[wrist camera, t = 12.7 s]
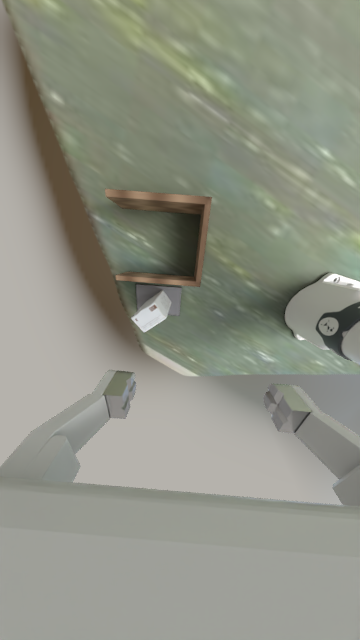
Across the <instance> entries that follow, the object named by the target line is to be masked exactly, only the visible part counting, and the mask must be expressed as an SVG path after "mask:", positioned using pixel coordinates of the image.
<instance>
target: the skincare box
mask: <svg viewBox="0 0 360 640" xmlns="http://www.w3.org/2000/svg"><path fill="white" fill-rule="evenodd" d="M170 306H171V301H170V299H169V298H168V296H167V295H166V294H165V292H164V291H163V290H162V291H160V292H159V293H157V294H156V295H154V296H153V297H152V298H150V299H149V300H147V301H146V302H145V303H144V304H143V305H142V306H141V307H140V309H139V310H138V311H137V312H136V313H135V314H134V315H133V316H132V317H131V319H132V320H133V321H134V322H135V323H136V324H137V326H138V327H139V328H140V329H141V330H142V331H143V332H144V333H145V332H146V331H148V330H149V329H151V328H152V327H154V326H155V325H157V324H158V323H160V322H161V321H163V320H165V319H166V318H167V315H168V312H169V309H170Z"/></svg>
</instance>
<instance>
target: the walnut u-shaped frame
mask: <svg viewBox="0 0 360 640" xmlns="http://www.w3.org/2000/svg"><path fill="white" fill-rule="evenodd" d="M105 193H106V197H107V198H109V199H110V200H112V201H113V202H114V203H116V204H117V205H118V206H120V207H121V208H123V209H135V210H148V211H161V212H174V213H187V214H200V215H201V219H200V228H199V237H198V246H197V255H196V264H195V273H194V277H191V276H178V275H165V274H153V273H140V272H125V273H122V274H118V275H116V280H121V281H133V282H146V283H158V284H171V285H184V286H196V287H200V283H201V276H202V268H203V260H204V253H205V245H206V238H207V230H208V222H209V215H210V207H211V200H212V197H204V196H191V195H178V194H165V193H152V192H139V191H126V190H113V189H105Z"/></svg>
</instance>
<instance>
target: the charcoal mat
mask: <svg viewBox="0 0 360 640" xmlns="http://www.w3.org/2000/svg"><path fill="white" fill-rule="evenodd" d="M162 290H163V291H164V292H165V294H166V295H167V296H168V298H169V299H170V301H171V306H170V309H169V312H168V315H174V316H179V315H180V302H181V287H168V286H155V285H143V284H136V294H137V310H139V309H140V307H141V306H142V305H143V304H144V303H145V302H146V301H147V300H149V299H150V298H152V297H153V296H154V295H156V294H157V293H159V292H160V291H162Z"/></svg>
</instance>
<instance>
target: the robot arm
mask: <svg viewBox="0 0 360 640" xmlns="http://www.w3.org/2000/svg"><path fill="white" fill-rule="evenodd" d="M333 280H334V281H333ZM285 321H286V324H287V325H288V327H289V328H290V329H292V331H293V333H294V336H295V338H297V339H298V340H307V341H309V342H310V343H312V344H314V345H315V346H317V347H319V348H321V349H330V350H332V351H333V352H334V353H336V354H337V355H339V356H341V357H343V358H345V359H347V360H351V361H354V362H355V363H357V364H358V365H360V282H359V281H356V280H353V279H350V278H347V277H344V276H340V275H337V274H334V273H328V274H326V275H325V276H323V277H322V278H321V279H320V280H319V281H317V282H316V283H314V284H312V285H310V286H308V287H306V288H304V289H302V290H301V291H299V292H298V293H297V294H296V295H295V296H294V297H293V298H292V299H291V301H290V302H289V304H288V306H287V308H286V311H285ZM134 379H135V373H133V372H125V371H115V370H108V371H107V372H106V374H105V375H104V376H103V378H102V380H101V381H100V383H99V384H98V385H97V387H96V388H95V390H94V391H93V393H92V394H88V395H87V396H85V397H84V398H82V399H81V400H79V401H77V402H76V403H74V404H73V405H71V406H70V407H68V408H67V409H65V410H64V411H62V412H61V413H59V414H58V415H56V416H54V417H53V418H51V419H50V420H48V421H47V422H45V423H44V424H42V425H41V426H39V427H38V428H36V429H35V430H33V431H31V433H30V434H29V435H28V436H27V437H26V438H25V439H24V440H23V442H22V443H21V444H20V445H19V446H18V447H17V449H16V450H15V451H14V452H13V453H12V454H11V455H10V456H9V458H8V459H7V460H6V461H5V462H4V463H3V465H2V466H1V467H0V640H360V436H359V435H357V434H356V433H354V432H353V431H351V430H350V429H348V428H347V427H345V426H344V425H342V424H341V423H339V422H338V421H336V420H335V419H333V418H332V417H330V416H329V415H327V414H324V413H323V412H322V411H321V410H320V409H319V408H318V407H317V405H316V404H315V403H314V402H313V401H312V400H311V399H310V397H309V396H308V395H307V394H306V393H305V392H304V391H303V389H302V388H301V387H299V386H297V385H285V384H270V385H269V386H268V389H269V391H268V392H266V393H265V395H264V404H265V407H266V409H267V410H268V411H269V412H270V413H271V414H272V420H273V422H274V424H275V426H276V428H277V430H278V431H279V432H288V433H295V435H296V436H297V437H298V438H299V439H300V440H301V441H302V442H303V443H304V444H305V445H306V447H308V449H310V450H311V452H312V453H313V454H314V455H315V456H317V457H318V459H319V460H320V461H321V462H322V463H323V464H324V465H325V466H326V467H327V468H328V469H330V471H331V472H332V473H333V474H334V475H335V476H336V477H337V478H338V479H339V480H338V481H337V482H336V483H334V484H333V490H334V491H335V493H336V495H337V496H338V498H339V499H340V501H341V503H342V504H343V505H334V504H321V503H310V502H298V501H286V500H274V499H263V498H251V497H239V496H227V495H215V494H204V493H191V492H179V491H168V490H156V489H144V488H133V487H120V486H109V485H96V484H85V483H73V481H74V479H75V477H76V474H77V473H78V470H79V468H80V463H79V461H78V460H77V457H76V455H75V454H76V453H77V452H78V451H79V449H81V448H82V447H83V446H84V445H85V444H86V443H87V442H88V441H89V440H90V438H91V437H93V436H94V435H95V434H96V433H97V431H99V430H100V428H102V426H104V424H105V423H106V422H107V421H108V420H109V419H110V418H121V419H122V418H123V419H125V418H126V417H127V414H128V411H129V408H130V401H131V400H132V399H133V397H134V395H135V390H136V382H135V381H134Z"/></svg>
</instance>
